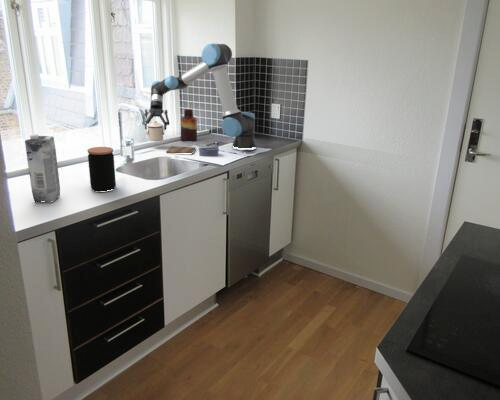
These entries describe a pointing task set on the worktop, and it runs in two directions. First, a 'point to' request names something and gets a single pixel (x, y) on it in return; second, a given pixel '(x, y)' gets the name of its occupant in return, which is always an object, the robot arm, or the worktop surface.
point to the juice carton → (43, 168)
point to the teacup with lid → (155, 131)
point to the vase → (188, 126)
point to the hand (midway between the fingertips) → (155, 133)
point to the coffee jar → (101, 168)
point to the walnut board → (181, 149)
